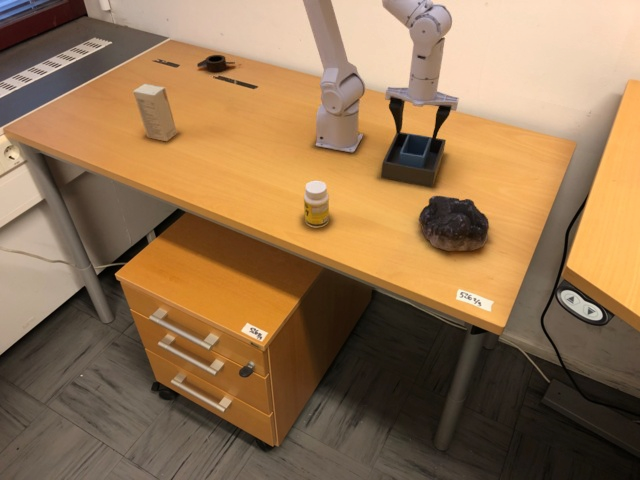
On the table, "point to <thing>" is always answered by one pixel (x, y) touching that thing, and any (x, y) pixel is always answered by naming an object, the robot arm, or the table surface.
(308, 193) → the supplement bottle
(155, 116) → the cosmetic box
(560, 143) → the table surface
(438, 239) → the crystal cluster
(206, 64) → the black ring with tabs
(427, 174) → the charcoal bin
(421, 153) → the blue bin
